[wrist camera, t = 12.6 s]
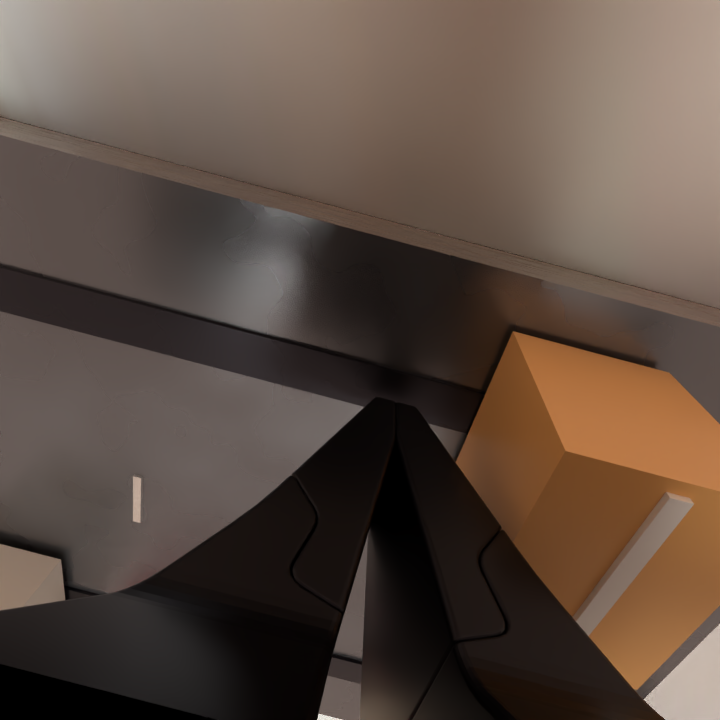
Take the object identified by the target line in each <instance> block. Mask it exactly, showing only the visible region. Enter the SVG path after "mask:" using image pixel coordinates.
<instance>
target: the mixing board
mask: <svg viewBox="0 0 720 720" xmlns="http://www.w3.org/2000/svg"><path fill="white" fill-rule="evenodd" d="M513 331H514V332H518V333H522V334H525V335H529V336H533V337H537V338H541V339H544V340H548V341H552V342H556V343H559V344H563V345H567V346H571V347H574V348H578V349H582V350H586V351H589V352H593V353H597V354H601V355H605V356H608V357H612V358H616V359H620V360H623V361H627V362H631V363H635V364H638V365H642V366H646V367H650V368H654V369H657V370H661V371H665V372H669V373H670V374H671V375H672V376H673V377H674V378H675V379H676V380H677V381H678V382H679V383H680V384H681V385H682V386H683V387H684V388H685V389H686V390H687V391H688V392H689V393H690V394H691V395H692V396H693V397H694V398H695V399H696V400H697V401H698V402H699V403H700V404H701V406H702V407H703V408H704V409H705V410H706V411H707V412H708V413H709V414H710V415H711V416H712V417H713V418H714V419H715V420H716V421H717V422H718V423H719V424H720V309H717V308H713V307H709V306H706V305H702V304H698V303H694V302H691V301H687V300H683V299H679V298H676V297H672V296H668V295H664V294H661V293H657V292H653V291H650V290H646V289H642V288H638V287H635V286H631V285H627V284H623V283H620V282H616V281H612V280H608V279H605V278H601V277H597V276H593V275H590V274H586V273H582V272H578V271H575V270H571V269H567V268H563V267H560V266H556V265H552V264H549V263H545V262H541V261H537V260H534V259H530V258H526V257H522V256H519V255H515V254H511V253H507V252H504V251H500V250H496V249H492V248H489V247H485V246H481V245H477V244H474V243H470V242H466V241H462V240H459V239H455V238H451V237H448V236H444V235H440V234H436V233H433V232H429V231H425V230H421V229H418V228H414V227H410V226H406V225H403V224H399V223H395V222H391V221H388V220H384V219H380V218H376V217H373V216H369V215H365V214H361V213H358V212H354V211H350V210H347V209H343V208H339V207H335V206H332V205H328V204H324V203H320V202H317V201H313V200H309V199H305V198H302V197H298V196H294V195H290V194H287V193H283V192H279V191H275V190H272V189H268V188H264V187H260V186H257V185H253V184H249V183H246V182H242V181H238V180H234V179H231V178H227V177H223V176H219V175H216V174H212V173H208V172H204V171H201V170H197V169H193V168H189V167H186V166H182V165H178V164H174V163H171V162H167V161H163V160H159V159H156V158H152V157H148V156H145V155H141V154H137V153H133V152H130V151H126V150H122V149H118V148H115V147H111V146H107V145H103V144H100V143H96V142H92V141H88V140H85V139H81V138H77V137H73V136H70V135H66V134H62V133H58V132H55V131H51V130H47V129H44V128H40V127H36V126H32V125H29V124H25V123H21V122H17V121H14V120H10V119H6V118H2V117H0V544H2V545H6V546H10V547H14V548H18V549H22V550H26V551H30V552H34V553H37V554H41V555H45V556H49V557H53V558H57V559H61V564H62V574H63V583H64V592H65V600H70V599H76V598H83V597H89V596H96V595H102V594H108V593H113V592H117V591H120V590H123V589H126V588H128V587H130V586H133V585H135V584H137V583H140V582H141V581H143V580H145V579H147V578H149V577H151V576H153V575H154V574H156V573H158V572H159V571H161V570H162V569H164V568H165V567H167V566H168V565H170V564H171V563H173V562H174V561H176V560H177V559H178V558H180V557H181V556H183V555H184V554H186V553H187V552H189V551H190V550H192V549H193V548H195V547H196V546H198V545H199V544H201V543H202V542H203V541H205V540H206V539H208V538H209V537H211V536H212V535H214V534H215V533H217V532H218V531H220V530H221V529H223V528H224V527H226V526H227V525H229V524H230V523H231V522H233V521H234V520H236V519H237V518H238V517H240V516H241V515H243V514H244V513H245V512H247V511H248V510H249V509H251V508H252V507H254V506H255V505H256V504H258V503H259V502H260V501H261V500H262V499H264V498H265V497H266V496H267V495H268V494H270V493H271V492H272V491H273V490H274V489H275V488H277V487H278V486H279V485H280V484H281V483H282V482H283V481H284V480H285V479H286V478H287V477H289V476H291V475H292V473H293V472H294V471H295V470H296V469H298V468H299V467H300V466H301V465H302V464H303V463H304V462H305V461H306V460H307V459H308V458H310V457H311V456H312V455H313V454H314V453H315V452H316V451H317V450H318V449H319V448H320V447H322V446H323V445H324V444H325V443H326V442H327V441H328V440H329V439H330V438H331V437H332V436H334V435H335V434H336V433H337V432H338V431H339V430H340V429H341V428H342V427H343V426H344V425H345V424H347V423H348V422H349V421H350V420H351V419H352V418H353V417H354V416H355V415H356V414H357V413H359V412H360V411H361V410H362V409H363V408H364V407H365V406H366V405H367V404H368V403H369V402H371V401H372V400H373V399H374V398H375V397H380V398H384V399H388V400H392V401H394V402H395V403H397V402H400V403H404V404H407V405H411V406H415V407H416V408H417V409H418V410H419V412H420V413H421V414H422V416H423V417H424V419H425V420H426V421H427V423H428V424H429V426H430V427H431V428H432V430H433V431H434V433H435V434H436V435H437V437H438V438H439V440H440V441H441V442H442V444H443V445H444V447H445V448H446V449H447V451H448V452H449V454H450V455H451V457H452V458H453V459H454V461H455V462H456V461H457V458H458V456H459V454H460V451H461V449H462V447H463V444H464V442H465V440H466V438H467V435H468V433H469V431H470V428H471V426H472V424H473V421H474V419H475V417H476V415H477V412H478V410H479V408H480V405H481V403H482V401H483V399H484V396H485V394H486V392H487V389H488V387H489V385H490V382H491V380H492V378H493V376H494V373H495V371H496V369H497V366H498V364H499V362H500V359H501V357H502V355H503V353H504V350H505V348H506V346H507V343H508V341H509V339H510V337H511V334H512V332H513ZM367 543H368V536H367V540H366V543H365V546H364V550H363V553H362V556H361V560H360V563H359V567H358V570H357V573H356V577H355V580H354V583H353V587H352V590H351V593H350V597H349V600H348V603H347V607H346V610H345V614H344V617H343V619H342V624H341V627H340V630H339V634H338V637H337V641H336V644H335V648H334V652H333V655H332V659H331V663H330V667H329V671H328V676H327V680H326V684H325V688H324V693H323V697H322V701H321V705H320V710H319V714H323V715H327V716H331V717H335V718H339V719H343V720H359V719H360V697H361V675H362V653H363V631H364V609H365V587H366V565H367ZM719 624H720V606H719V607H718V608H717V609H716V610H715V611H714V612H713V613H712V614H711V615H710V616H709V617H708V618H707V619H706V620H705V621H704V622H703V623H702V624H701V625H700V626H699V627H698V628H697V629H696V630H695V631H694V632H693V633H692V634H691V635H690V636H689V637H688V638H687V639H686V641H685V642H684V643H683V644H682V645H681V646H680V647H679V648H678V649H677V650H676V651H675V652H674V653H673V654H672V655H671V656H670V657H669V658H668V659H667V660H666V661H665V662H664V663H663V664H662V665H661V666H660V667H659V668H658V669H657V670H656V671H655V672H654V673H653V674H652V675H651V676H650V677H649V678H648V679H647V680H646V681H645V682H644V683H643V685H642V686H641V687H640V688H639V689H638V690H635V689H634V690H635V691H636V692H637V693H638V694H639V695H640V696H641V698H642V699H644V698H645V697H646V696H647V695H648V694H649V693H650V692H651V691H652V690H653V689H654V688H655V687H656V686H657V685H658V684H659V683H660V682H661V681H662V680H663V679H664V678H665V677H666V676H667V675H668V674H669V673H670V672H671V671H672V670H673V669H674V668H675V667H676V666H677V665H678V664H679V663H680V662H681V661H682V660H683V659H684V658H685V657H686V656H687V655H688V654H689V653H690V652H691V651H692V650H693V649H694V648H695V647H696V646H697V645H698V644H699V643H700V642H701V641H702V640H703V639H704V638H705V637H706V636H707V635H708V634H709V633H710V632H711V631H712V630H713V629H715V628H716V627H717V626H718V625H719Z"/></svg>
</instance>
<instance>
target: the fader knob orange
mask: <svg viewBox="0 0 720 720" xmlns="http://www.w3.org/2000/svg"><path fill="white" fill-rule="evenodd" d="M456 464H457V465H458V466H459V468H460V469H461V471H462V472H463V473H464V475H465V476H466V478H467V479H468V480H469V482H470V483H471V485H472V486H473V487H474V489H475V490H476V492H477V493H478V494H479V496H480V497H481V499H482V500H483V501H484V503H485V504H486V506H487V507H488V508H489V510H490V511H491V513H492V514H493V515H494V517H495V518H496V520H497V521H498V522H499V524H500V525H501V527H502V529H501V530H504V531H505V532H506V533H507V535H508V536H509V537H510V539H511V540H512V542H513V543H514V544H515V546H516V547H517V549H518V550H519V551H520V553H521V554H522V555H523V557H524V558H525V559H526V561H527V562H528V563H529V565H530V566H531V567H532V569H533V570H534V571H535V573H536V574H537V575H538V576H539V578H540V579H541V580H542V581H543V583H544V584H545V585H546V586H547V587H548V589H549V590H550V591H551V592H552V593H553V595H554V596H555V597H556V598H557V600H558V601H559V602H560V603H561V604H562V606H563V607H564V608H565V609H566V610H567V612H568V613H569V614H570V615H571V616H572V617H573V619H574V620H575V621H576V622H577V623H578V624H579V626H580V627H581V628H582V629H583V630H584V631H585V633H586V634H587V635H588V636H589V637H590V639H591V640H592V641H593V642H594V643H595V644H596V646H597V647H598V648H599V649H600V650H601V651H602V653H603V654H604V655H605V656H606V657H607V658H608V660H609V661H610V662H611V663H612V664H613V666H614V667H615V668H616V669H617V670H618V671H619V673H620V674H621V675H622V676H623V677H624V678H625V680H626V681H627V682H628V683H629V684H630V685H631V687H632V688H633V689H635V690H638V689H639V688H640V687H641V686H642V685H643V683H644V682H645V681H646V680H647V679H648V678H649V677H650V676H651V675H652V674H653V673H654V672H655V671H656V670H657V669H658V668H659V667H660V666H661V665H662V664H663V663H664V662H665V661H666V660H667V659H668V658H669V657H670V656H671V655H672V654H673V653H674V652H675V651H676V650H677V649H678V648H679V647H680V646H681V645H682V644H683V643H684V642H685V641H686V639H687V638H688V637H689V636H690V635H691V634H692V633H693V632H694V631H695V630H696V629H697V628H698V627H699V626H700V625H701V624H702V623H703V622H704V621H705V620H706V619H707V618H708V617H709V616H710V615H711V614H712V613H713V612H714V611H715V610H716V609H717V608H718V607H719V606H720V424H719V423H718V422H717V421H716V420H715V419H714V418H713V417H712V416H711V415H710V414H709V413H708V412H707V411H706V410H705V409H704V408H703V407H702V406H701V404H700V403H699V402H698V401H697V400H696V399H695V398H694V397H693V396H692V395H691V394H690V393H689V392H688V391H687V390H686V389H685V388H684V387H683V386H682V385H681V384H680V383H679V382H678V381H677V380H676V379H675V378H674V377H673V376H672V375H671V374H670V373H669V372H665V371H661V370H657V369H654V368H650V367H646V366H642V365H638V364H635V363H631V362H627V361H623V360H620V359H616V358H612V357H608V356H605V355H601V354H597V353H593V352H589V351H586V350H582V349H578V348H574V347H571V346H567V345H563V344H559V343H556V342H552V341H548V340H544V339H541V338H537V337H533V336H529V335H525V334H522V333H518V332H514V331H513V332H512V334H511V337H510V339H509V341H508V343H507V346H506V348H505V350H504V353H503V355H502V357H501V359H500V362H499V364H498V366H497V369H496V371H495V373H494V376H493V378H492V380H491V382H490V385H489V387H488V389H487V392H486V394H485V396H484V399H483V401H482V403H481V405H480V408H479V410H478V412H477V415H476V417H475V419H474V421H473V424H472V426H471V428H470V431H469V433H468V435H467V438H466V440H465V442H464V444H463V447H462V449H461V451H460V454H459V456H458V458H457V461H456Z"/></svg>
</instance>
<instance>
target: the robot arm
mask: <svg viewBox="0 0 720 720" xmlns="http://www.w3.org/2000/svg"><path fill="white" fill-rule="evenodd" d="M501 529H502V527H501V525H500V524H499V522H498V521H497V520H496V518H495V517H494V515H493V514H492V513H491V511H490V510H489V508H488V507H487V506H486V504H485V503H484V501H483V500H482V499H481V497H480V496H479V494H478V493H477V492H476V490H475V489H474V487H473V486H472V485H471V483H470V482H469V480H468V479H467V478H466V476H465V475H464V473H463V472H462V471H461V469H460V468H459V466H458V465H457V464H456V462H455V461H454V459H453V458H452V457H451V455H450V454H449V452H448V451H447V449H446V448H445V447H444V445H443V444H442V442H441V441H440V440H439V438H438V437H437V435H436V434H435V433H434V431H433V430H432V428H431V427H430V426H429V424H428V423H427V421H426V420H425V419H424V417H423V416H422V414H421V413H420V412H419V410H418V409H417V408H416V407H415V406H411V405H407V404H404V403H400V402H397V403H395V402H394V401H392V400H388V399H384V398H380V397H375V398H374V399H373V400H372V401H371V402H369V403H368V404H367V405H366V406H365V407H364V408H363V409H362V410H361V411H360V412H359V413H357V414H356V415H355V416H354V417H353V418H352V419H351V420H350V421H349V422H348V423H347V424H345V425H344V426H343V427H342V428H341V429H340V430H339V431H338V432H337V433H336V434H335V435H334V436H332V437H331V438H330V439H329V440H328V441H327V442H326V443H325V444H324V445H323V446H322V447H320V448H319V449H318V450H317V451H316V452H315V453H314V454H313V455H312V456H311V457H310V458H308V459H307V460H306V461H305V462H304V463H303V464H302V465H301V466H300V467H299V468H298V469H296V470H295V471H294V472H293V473H292V475H291V476H289V477H287V478H286V479H285V480H284V481H283V482H282V483H281V484H280V485H279V486H278V487H277V488H275V489H274V490H273V491H272V492H271V493H270V494H268V495H267V496H266V497H265V498H264V499H262V500H261V501H260V502H259V503H258V504H256V505H255V506H254V507H252V508H251V509H249V510H248V511H247V512H245V513H244V514H243V515H241V516H240V517H238V518H237V519H236V520H234V521H233V522H231V523H230V524H229V525H227V526H226V527H224V528H223V529H221V530H220V531H218V532H217V533H215V534H214V535H212V536H211V537H209V538H208V539H206V540H205V541H203V542H202V543H201V544H199V545H198V546H196V547H195V548H193V549H192V550H190V551H189V552H187V553H186V554H184V555H183V556H181V557H180V558H178V559H177V560H176V561H174V562H173V563H171V564H170V565H168V566H167V567H165V568H164V569H162V570H161V571H159V572H158V573H156V574H154V575H153V576H151V577H149V578H147V579H145V580H143V581H141V582H140V583H137V584H135V585H133V586H130V587H128V588H126V589H123V590H120V591H117V592H113V593H108V594H102V595H96V596H89V597H83V598H76V599H70V600H63V601H57V602H50V603H44V604H38V605H31V606H25V607H18V608H12V609H5V610H0V720H317V718H318V714H319V710H320V705H321V701H322V697H323V693H324V688H325V684H326V680H327V676H328V671H329V667H330V663H331V659H332V655H333V652H334V648H335V644H336V641H337V637H338V634H339V630H340V627H341V624H342V619H343V617H344V614H345V610H346V607H347V603H348V600H349V597H350V593H351V590H352V587H353V583H354V580H355V577H356V573H357V570H358V567H359V563H360V560H361V556H362V553H363V550H364V546H365V543H366V540H367V536H368V543H367V565H366V587H365V609H364V631H363V653H362V675H361V697H360V719H359V720H665V719H664V718H663V717H661V716H660V715H659V714H658V713H657V712H656V711H655V710H654V709H653V708H651V707H650V706H649V705H648V704H647V703H646V702H645V701H644V700H643V699H642V698H641V696H640V695H639V694H638V693H637V692H636V691H635V690H634V689H633V688H632V687H631V685H630V684H629V683H628V682H627V681H626V680H625V678H624V677H623V676H622V675H621V674H620V673H619V671H618V670H617V669H616V668H615V667H614V666H613V664H612V663H611V662H610V661H609V660H608V658H607V657H606V656H605V655H604V654H603V653H602V651H601V650H600V649H599V648H598V647H597V646H596V644H595V643H594V642H593V641H592V640H591V639H590V637H589V636H588V635H587V634H586V633H585V631H584V630H583V629H582V628H581V627H580V626H579V624H578V623H577V622H576V621H575V620H574V619H573V617H572V616H571V615H570V614H569V613H568V612H567V610H566V609H565V608H564V607H563V606H562V604H561V603H560V602H559V601H558V600H557V598H556V597H555V596H554V595H553V593H552V592H551V591H550V590H549V589H548V587H547V586H546V585H545V584H544V583H543V581H542V580H541V579H540V578H539V576H538V575H537V574H536V573H535V571H534V570H533V569H532V567H531V566H530V565H529V563H528V562H527V561H526V559H525V558H524V557H523V555H522V554H521V553H520V551H519V550H518V549H517V547H516V546H515V544H514V543H513V542H512V540H511V539H510V537H509V536H508V535H507V533H506V532H505V531H504V530H501Z"/></svg>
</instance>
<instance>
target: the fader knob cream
mask: <svg viewBox="0 0 720 720" xmlns="http://www.w3.org/2000/svg"><path fill="white" fill-rule="evenodd" d="M63 600H65V592H64V583H63V574H62V564H61V559H57V558H53V557H49V556H45V555H41V554H37V553H34V552H30V551H26V550H22V549H18V548H14V547H10V546H6V545H2V544H0V610H5V609H12V608H18V607H25V606H31V605H38V604H44V603H50V602H57V601H63Z"/></svg>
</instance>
